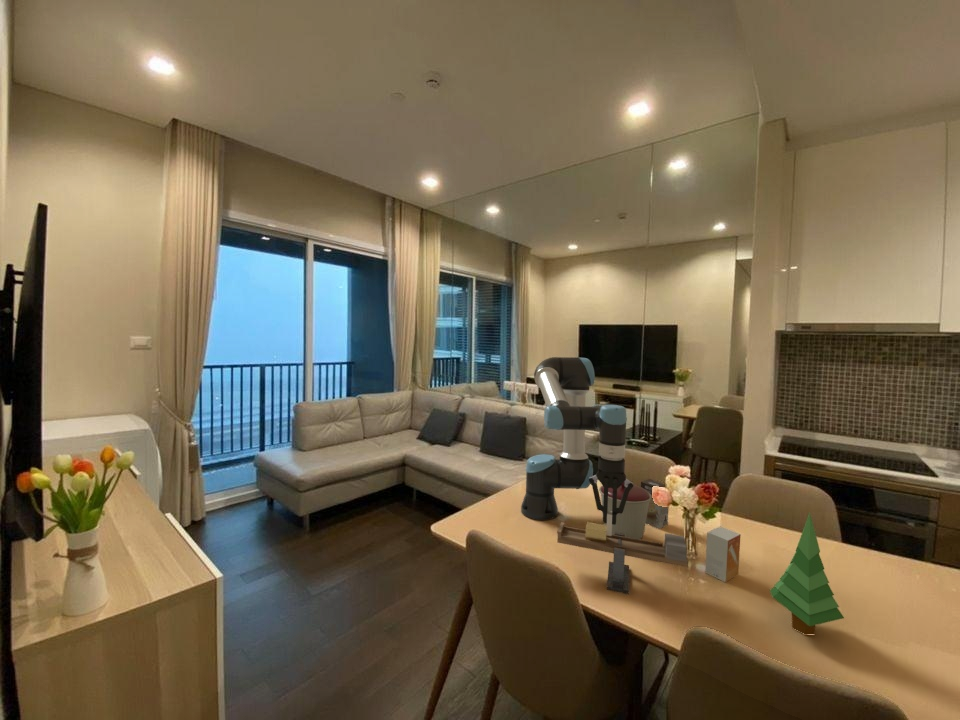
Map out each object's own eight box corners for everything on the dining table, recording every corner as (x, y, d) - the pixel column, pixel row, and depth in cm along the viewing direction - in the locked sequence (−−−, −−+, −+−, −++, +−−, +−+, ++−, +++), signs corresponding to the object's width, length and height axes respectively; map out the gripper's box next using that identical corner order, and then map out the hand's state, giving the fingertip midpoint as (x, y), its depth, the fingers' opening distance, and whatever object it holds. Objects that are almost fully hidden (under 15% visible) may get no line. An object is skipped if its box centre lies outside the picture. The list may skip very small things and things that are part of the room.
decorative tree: (753, 609, 107) (759, 500, 106) (813, 612, 107) (819, 502, 106) (791, 648, 94) (798, 523, 92) (859, 651, 93) (868, 525, 92)
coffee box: (638, 520, 160) (639, 481, 160) (647, 516, 164) (649, 478, 163) (659, 529, 153) (661, 488, 152) (668, 525, 156) (670, 485, 156)
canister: (634, 554, 135) (636, 492, 134) (587, 534, 148) (589, 478, 147) (658, 537, 146) (661, 481, 145) (613, 520, 160) (615, 468, 159)
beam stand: (609, 564, 128) (610, 529, 127) (629, 568, 126) (630, 532, 125) (606, 589, 115) (608, 550, 114) (629, 594, 113) (630, 554, 112)
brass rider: (586, 534, 125) (586, 521, 125) (606, 537, 123) (607, 525, 123) (585, 540, 121) (585, 528, 121) (605, 544, 119) (606, 531, 119)
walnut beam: (561, 532, 130) (561, 515, 130) (684, 555, 118) (685, 535, 117) (557, 544, 123) (557, 525, 122) (688, 569, 110) (689, 549, 110)
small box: (726, 583, 119) (728, 540, 119) (704, 572, 125) (706, 531, 124) (739, 575, 124) (741, 533, 123) (717, 565, 129) (719, 525, 128)
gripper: (588, 457, 119) (585, 535, 120) (635, 463, 114) (632, 543, 115) (590, 451, 126) (588, 524, 127) (634, 456, 121) (631, 532, 122)
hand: (609, 533), depth 121 cm, fingers closed
